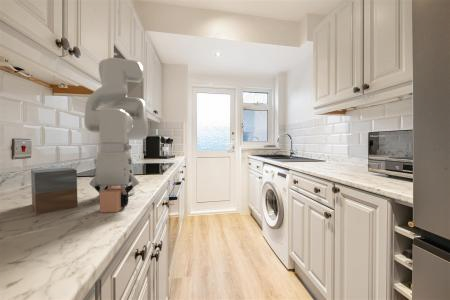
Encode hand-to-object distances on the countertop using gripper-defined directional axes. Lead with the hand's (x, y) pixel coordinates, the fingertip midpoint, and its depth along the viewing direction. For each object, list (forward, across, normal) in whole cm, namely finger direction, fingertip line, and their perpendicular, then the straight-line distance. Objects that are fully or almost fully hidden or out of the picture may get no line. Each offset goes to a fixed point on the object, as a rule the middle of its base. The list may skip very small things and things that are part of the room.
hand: (115, 205), depth 66 cm
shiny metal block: (+1, +21, -4) cm, 22 cm away
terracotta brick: (+1, 0, 0) cm, 1 cm away
